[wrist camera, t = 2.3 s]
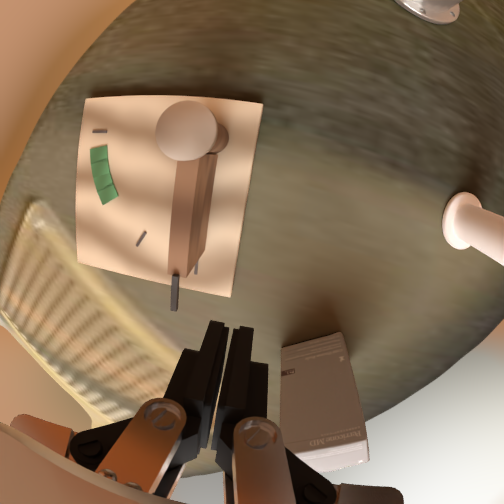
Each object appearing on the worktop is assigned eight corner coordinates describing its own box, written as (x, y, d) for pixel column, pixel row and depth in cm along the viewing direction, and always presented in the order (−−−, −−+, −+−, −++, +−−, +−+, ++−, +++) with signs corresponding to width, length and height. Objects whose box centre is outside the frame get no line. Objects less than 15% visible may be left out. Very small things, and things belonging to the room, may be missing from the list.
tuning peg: (196, 116, 23) (160, 99, 15) (237, 120, 23) (220, 102, 15) (177, 270, 29) (144, 314, 21) (213, 278, 29) (192, 325, 20)
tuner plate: (93, 100, 24) (84, 98, 23) (263, 106, 24) (262, 103, 23) (84, 257, 31) (77, 262, 30) (232, 290, 31) (229, 298, 29)
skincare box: (341, 329, 32) (373, 433, 17) (349, 367, 34) (374, 463, 19) (276, 347, 33) (274, 455, 18) (290, 382, 35) (293, 480, 21)
